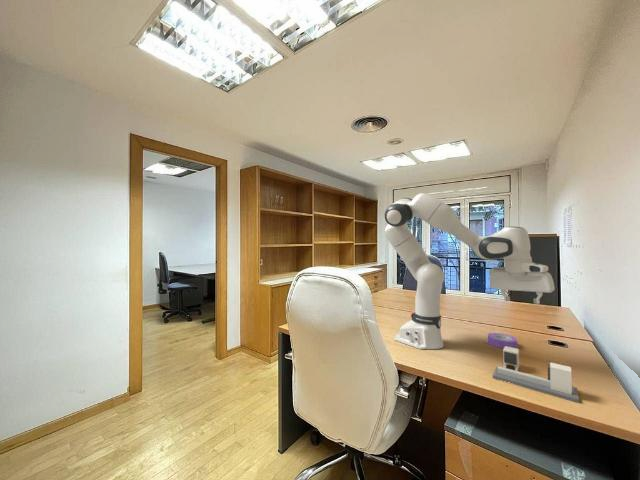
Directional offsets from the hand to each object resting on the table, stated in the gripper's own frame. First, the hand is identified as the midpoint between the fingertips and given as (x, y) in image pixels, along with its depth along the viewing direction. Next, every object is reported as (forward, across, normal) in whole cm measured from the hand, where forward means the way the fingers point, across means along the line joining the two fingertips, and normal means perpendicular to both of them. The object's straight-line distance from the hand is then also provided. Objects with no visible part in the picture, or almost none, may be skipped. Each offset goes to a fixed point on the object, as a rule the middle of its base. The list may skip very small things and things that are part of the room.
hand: (521, 302), depth 103 cm
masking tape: (+25, -15, +20) cm, 35 cm away
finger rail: (+25, +5, -13) cm, 29 cm away
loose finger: (+25, -4, -5) cm, 26 cm away
